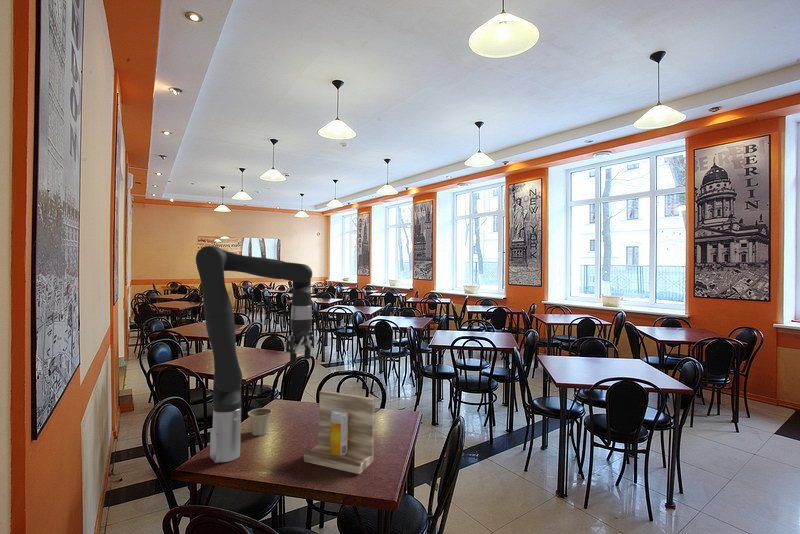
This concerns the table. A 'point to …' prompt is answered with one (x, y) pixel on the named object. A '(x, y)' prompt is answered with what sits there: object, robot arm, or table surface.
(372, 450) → the wall board
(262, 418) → the flower pot
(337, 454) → the beer can
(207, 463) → the table surface
